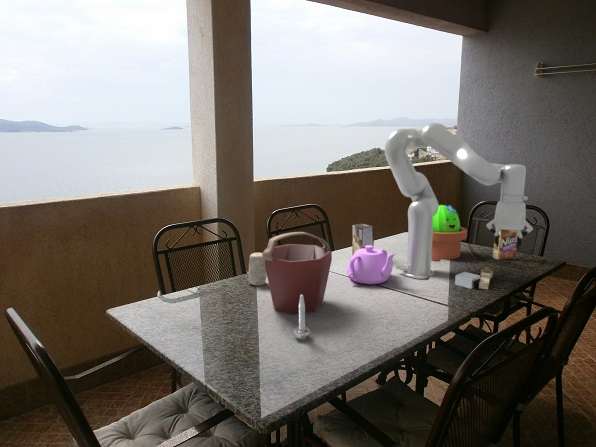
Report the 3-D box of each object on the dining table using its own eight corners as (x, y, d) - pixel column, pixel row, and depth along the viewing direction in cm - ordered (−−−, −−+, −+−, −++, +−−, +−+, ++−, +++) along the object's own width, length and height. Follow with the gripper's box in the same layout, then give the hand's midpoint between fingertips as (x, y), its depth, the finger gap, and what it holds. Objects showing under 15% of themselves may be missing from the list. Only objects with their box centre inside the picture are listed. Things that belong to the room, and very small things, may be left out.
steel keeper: (471, 289, 161) (472, 279, 160) (454, 284, 165) (455, 275, 165) (479, 285, 165) (480, 275, 164) (463, 280, 170) (464, 271, 169)
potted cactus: (406, 252, 214) (409, 201, 209) (445, 248, 221) (448, 199, 216) (433, 265, 194) (436, 209, 189) (474, 260, 200) (479, 206, 195)
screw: (301, 332, 129) (313, 337, 126) (289, 337, 125) (302, 343, 122) (300, 290, 126) (313, 294, 123) (289, 294, 123) (302, 298, 120)
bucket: (267, 321, 137) (265, 243, 132) (254, 296, 157) (253, 228, 152) (341, 312, 143) (342, 237, 138) (320, 290, 164) (320, 224, 159)
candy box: (497, 262, 198) (500, 228, 194) (492, 259, 202) (494, 226, 199) (515, 261, 199) (519, 228, 196) (510, 258, 203) (513, 226, 200)
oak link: (481, 273, 177) (481, 265, 177) (492, 275, 176) (493, 267, 175) (476, 287, 162) (477, 278, 161) (489, 289, 160) (490, 280, 159)
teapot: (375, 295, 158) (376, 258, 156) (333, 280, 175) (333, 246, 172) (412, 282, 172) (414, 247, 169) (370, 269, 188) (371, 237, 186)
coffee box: (374, 261, 200) (375, 226, 197) (362, 263, 197) (363, 228, 194) (362, 256, 208) (363, 223, 205) (351, 258, 206) (352, 224, 202)
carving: (263, 287, 167) (263, 257, 164) (245, 285, 169) (244, 255, 167) (270, 282, 173) (269, 252, 170) (252, 280, 175) (251, 251, 173)
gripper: (538, 199, 159) (533, 247, 162) (486, 196, 166) (482, 242, 170) (539, 201, 152) (533, 252, 156) (485, 198, 160) (481, 247, 163)
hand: (507, 246), depth 163 cm, fingers open, 6 cm apart
